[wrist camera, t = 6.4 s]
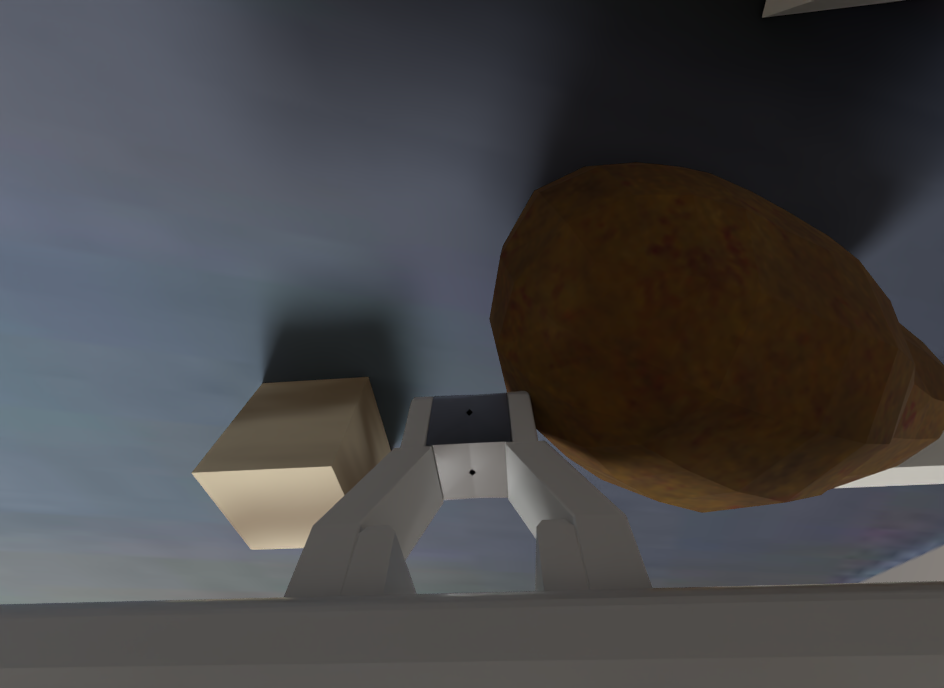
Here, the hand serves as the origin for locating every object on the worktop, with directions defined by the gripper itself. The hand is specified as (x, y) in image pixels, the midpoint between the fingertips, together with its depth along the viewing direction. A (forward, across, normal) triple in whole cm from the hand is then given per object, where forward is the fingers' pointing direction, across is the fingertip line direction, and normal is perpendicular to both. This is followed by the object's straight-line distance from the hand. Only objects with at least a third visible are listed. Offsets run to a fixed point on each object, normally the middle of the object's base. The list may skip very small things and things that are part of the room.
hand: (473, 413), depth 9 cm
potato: (+6, -6, 0) cm, 9 cm away
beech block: (+6, +8, +6) cm, 11 cm away
